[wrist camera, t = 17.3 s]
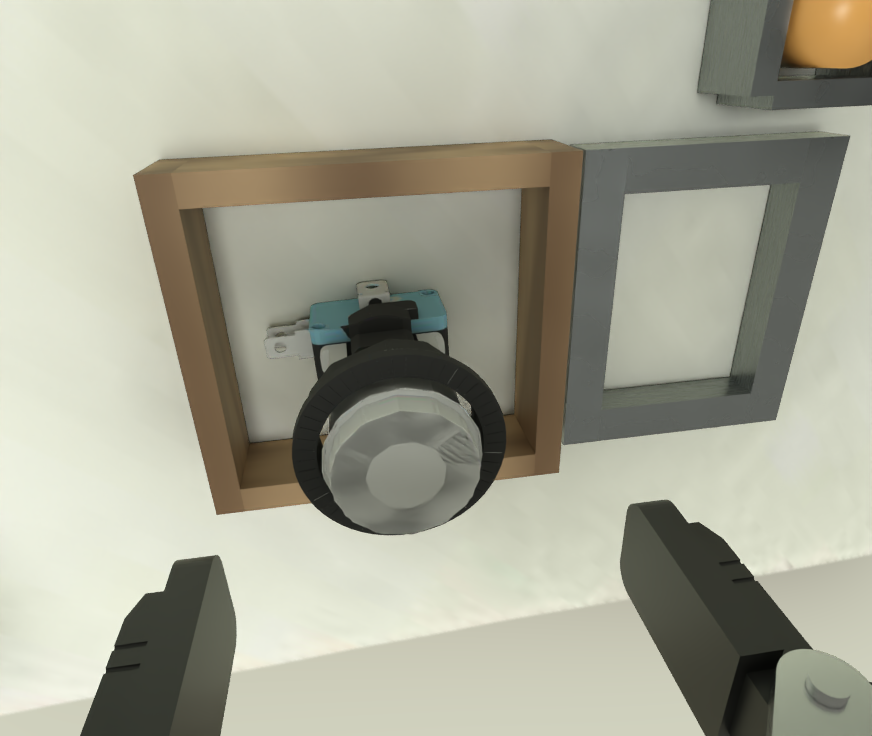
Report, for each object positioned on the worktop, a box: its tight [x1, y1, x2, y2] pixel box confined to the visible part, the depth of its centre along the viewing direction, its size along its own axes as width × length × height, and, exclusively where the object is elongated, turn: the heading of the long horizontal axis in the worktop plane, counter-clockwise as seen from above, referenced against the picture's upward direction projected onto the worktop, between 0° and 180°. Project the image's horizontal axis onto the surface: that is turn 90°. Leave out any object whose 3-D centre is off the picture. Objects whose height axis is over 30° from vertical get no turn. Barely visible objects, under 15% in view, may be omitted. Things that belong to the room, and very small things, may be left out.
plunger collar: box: [698, 0, 872, 110], centre depth 19 cm, size 5×5×3 cm
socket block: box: [561, 131, 850, 445], centre depth 24 cm, size 10×12×2 cm
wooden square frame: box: [133, 140, 583, 515], centre depth 22 cm, size 13×12×3 cm
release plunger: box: [780, 0, 872, 68], centre depth 19 cm, size 3×3×3 cm
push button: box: [264, 280, 506, 535], centre depth 19 cm, size 7×5×10 cm
